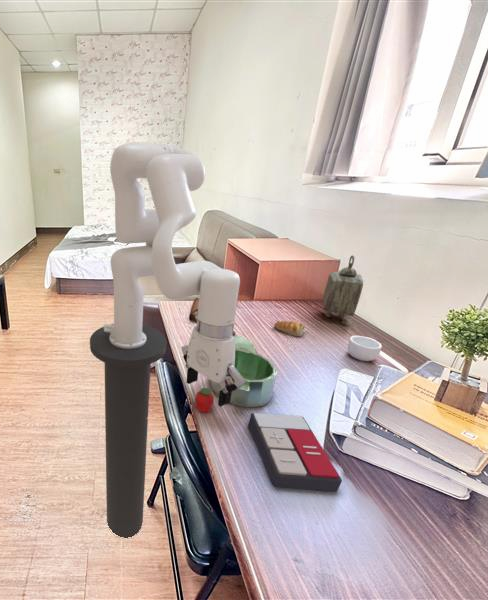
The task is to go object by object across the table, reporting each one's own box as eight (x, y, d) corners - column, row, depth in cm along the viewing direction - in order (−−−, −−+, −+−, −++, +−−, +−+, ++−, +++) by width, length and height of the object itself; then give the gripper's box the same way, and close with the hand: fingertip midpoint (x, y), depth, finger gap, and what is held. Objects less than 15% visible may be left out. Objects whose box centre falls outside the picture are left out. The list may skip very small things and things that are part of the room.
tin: (206, 405, 75) (210, 379, 72) (214, 362, 92) (217, 340, 90) (273, 421, 70) (279, 395, 67) (268, 373, 87) (273, 350, 84)
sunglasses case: (211, 323, 116) (204, 308, 114) (194, 329, 119) (186, 315, 118) (213, 306, 131) (206, 292, 130) (198, 312, 135) (191, 298, 133)
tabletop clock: (350, 328, 113) (371, 261, 104) (321, 322, 117) (338, 258, 108) (345, 313, 125) (364, 253, 115) (319, 309, 129) (335, 250, 120)
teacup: (379, 367, 90) (385, 351, 88) (347, 360, 93) (352, 344, 91) (371, 351, 98) (376, 336, 96) (342, 345, 102) (346, 330, 100)
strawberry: (193, 410, 74) (195, 394, 72) (195, 399, 77) (197, 383, 75) (211, 415, 72) (214, 398, 70) (213, 403, 76) (215, 387, 74)
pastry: (272, 330, 112) (274, 320, 110) (276, 324, 116) (278, 314, 115) (301, 338, 106) (304, 328, 105) (304, 331, 111) (307, 321, 110)
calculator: (278, 473, 54) (251, 409, 67) (272, 489, 56) (247, 424, 69) (344, 478, 53) (303, 413, 66) (337, 494, 55) (298, 427, 68)
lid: (201, 354, 97) (203, 338, 95) (206, 332, 110) (208, 318, 108) (255, 364, 91) (258, 348, 89) (254, 340, 105) (257, 326, 103)
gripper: (174, 316, 72) (170, 379, 78) (237, 348, 58) (226, 421, 64) (197, 310, 75) (191, 369, 81) (262, 338, 61) (249, 407, 67)
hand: (206, 392), depth 73 cm, fingers open, 9 cm apart
